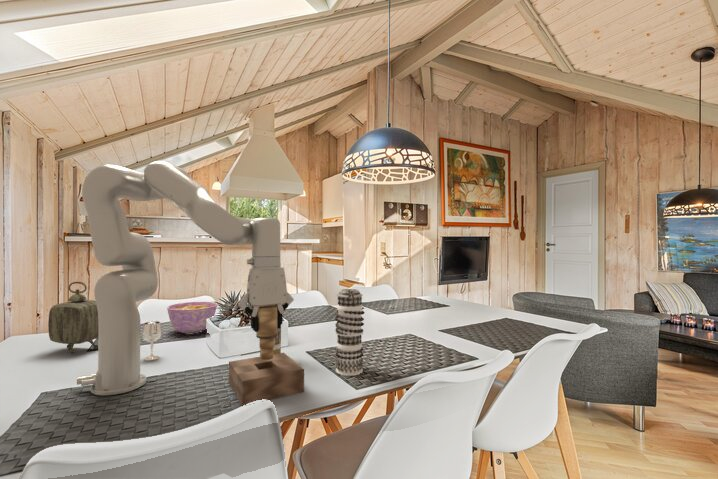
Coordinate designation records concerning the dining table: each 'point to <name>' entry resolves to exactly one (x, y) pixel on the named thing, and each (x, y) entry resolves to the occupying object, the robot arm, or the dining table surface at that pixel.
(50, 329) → the tabletop clock
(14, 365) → the dining table surface
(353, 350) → the patterned tall cylinder
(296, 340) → the dining table surface
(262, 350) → the oak peg
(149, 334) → the wineglass
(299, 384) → the socket block
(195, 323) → the bowl of food
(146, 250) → the robot arm
